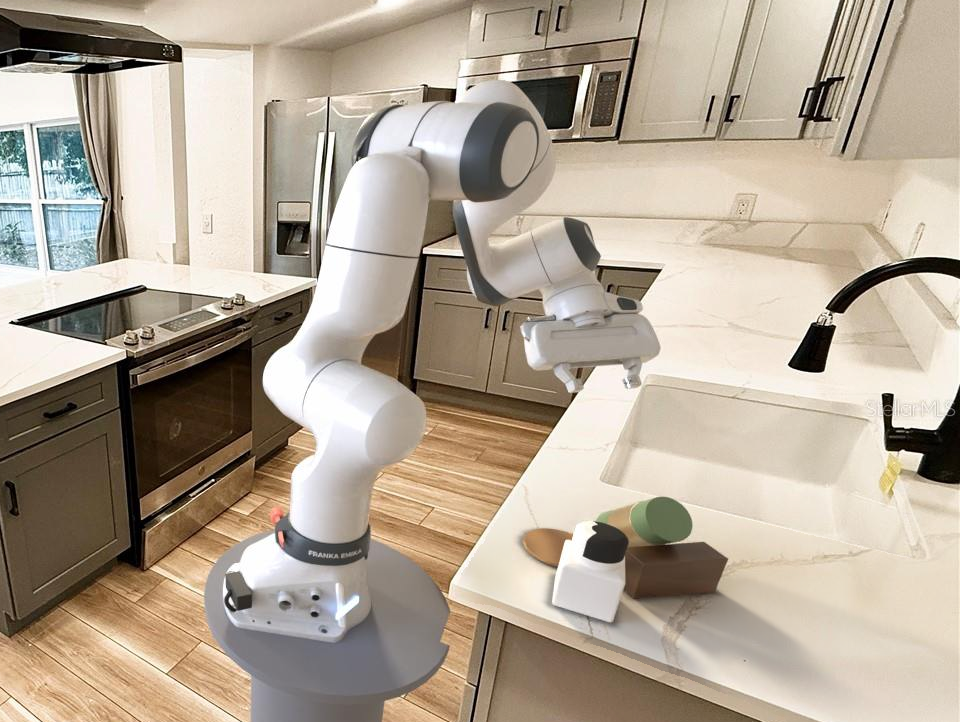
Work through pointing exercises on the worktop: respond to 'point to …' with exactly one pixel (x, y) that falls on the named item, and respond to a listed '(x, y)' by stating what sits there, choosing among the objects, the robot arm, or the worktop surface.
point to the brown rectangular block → (672, 569)
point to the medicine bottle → (592, 571)
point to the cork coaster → (546, 544)
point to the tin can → (651, 521)
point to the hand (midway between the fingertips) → (605, 389)
